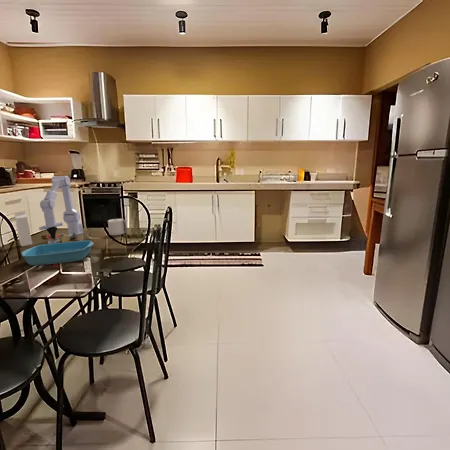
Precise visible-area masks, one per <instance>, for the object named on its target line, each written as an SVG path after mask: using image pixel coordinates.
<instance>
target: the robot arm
mask: <svg viewBox="0 0 450 450" xmlns="http://www.w3.org/2000/svg"><path fill="white" fill-rule="evenodd" d="M71 186H72V185H71V179H70V176H68V175H57V176H56V175H54V176H52V177H51V187H50V190H48V191H47V192H46V194H45V197H44V198H43V199H42V200H41V201H40V202H39V207H40V209H41V211H42V212H43V217H44V223H45V225H42V226H39V227H38V230H39V231H44V230H46V231H47V232H48V235H51V237H52V239H56V238H55V236H56V235H57V234H56V232H57V230H58V227H62V226H64V224H63V222H64V223H66V224H67V232H68V233H67V234H65V235H70V234H71V232H73V233H76V235H77V236H78V235H81V234H84V230H83V229H84V228H83V224H82V222H81V221H80V220H81V216H80V214H79V211H78V210H76V209H74V204H73V198H72V195H71V194H72V193H71ZM59 188H60V189H61V190H62V196H63V203H64V207H65V211H64V212H63V213H62V214H63V217H62V219H63V222H56V217H55V212H54V207H55V202H56V201H55V200H56V198H57V195H58V194H57V191H58V190H59Z"/></svg>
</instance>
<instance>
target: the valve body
mask: <svg viewBox="0 0 450 450" xmlns="http://www.w3.org/2000/svg"><path fill="white" fill-rule="evenodd" d="M77 238H78V235H76V233H73V232H71V234H70V235H66V234H64V236H59V237H56V238H55V239H49V240H47V244H52V243H63V242H71V241H70V240H72V239H77Z"/></svg>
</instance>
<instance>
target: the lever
mask: <svg viewBox="0 0 450 450" xmlns="http://www.w3.org/2000/svg"><path fill="white" fill-rule="evenodd" d="M64 235H65V233H63V232H62V233H59V234H55V239H56V237H59V236H64ZM49 239H52V237H51V235H50V234H48V235H46V240H47V241H48V240H49Z"/></svg>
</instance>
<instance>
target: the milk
mask: <svg viewBox="0 0 450 450" xmlns="http://www.w3.org/2000/svg"><path fill="white" fill-rule="evenodd" d="M14 220H15V221H14V222H15V225H16V230H17V234H18V235H17V236H18V239H19V245H20V246H21V247H27V246H32V245H33V240H32V235H31V230H30V225H29V221H28V216H27V213H26V211H21V212H15V213H14Z"/></svg>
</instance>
